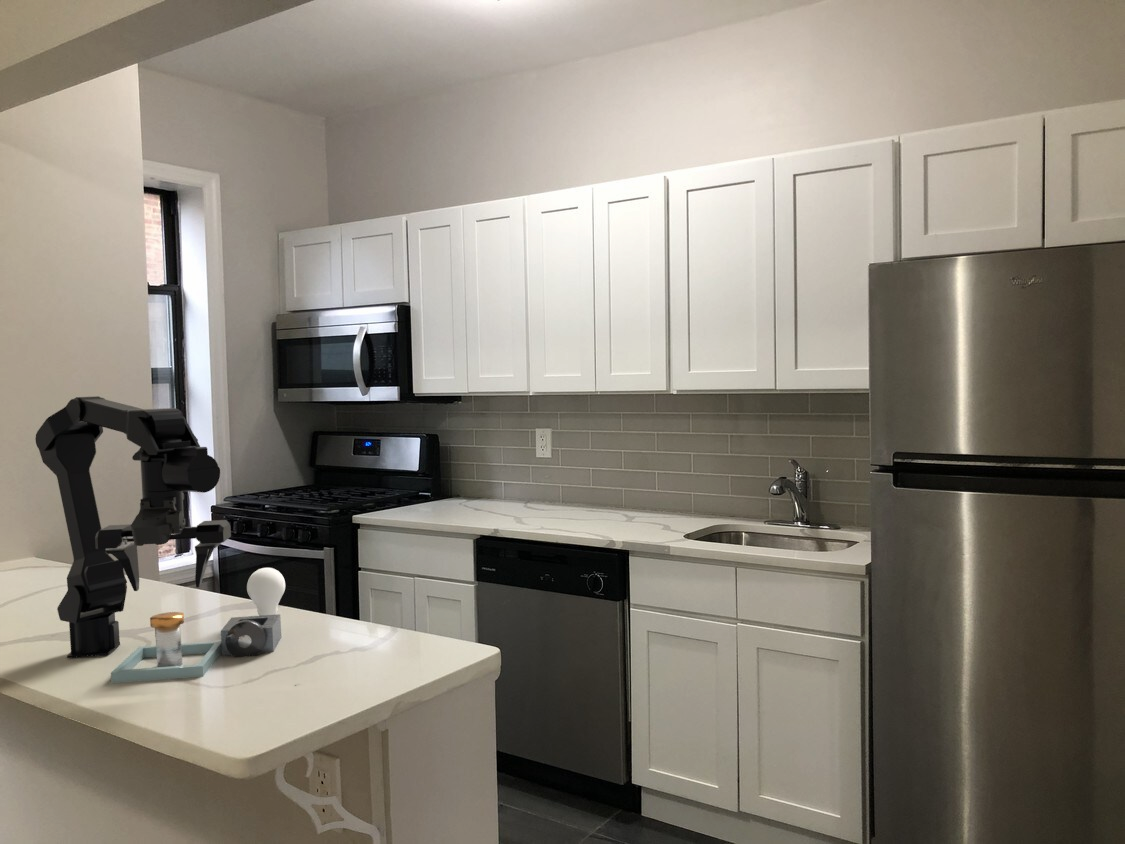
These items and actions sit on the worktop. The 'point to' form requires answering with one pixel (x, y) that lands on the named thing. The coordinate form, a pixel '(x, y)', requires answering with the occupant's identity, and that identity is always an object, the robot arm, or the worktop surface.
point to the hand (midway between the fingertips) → (167, 588)
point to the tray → (129, 674)
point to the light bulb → (266, 590)
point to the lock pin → (168, 638)
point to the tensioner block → (251, 635)
